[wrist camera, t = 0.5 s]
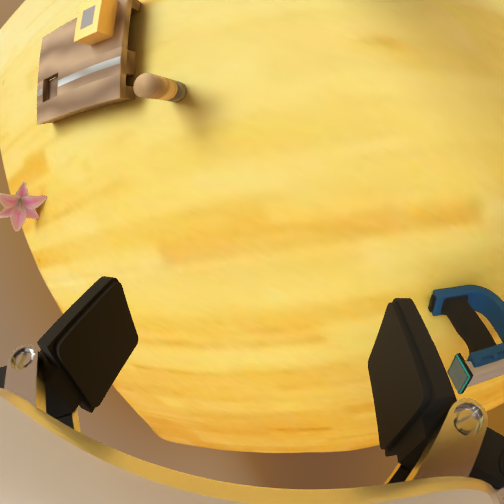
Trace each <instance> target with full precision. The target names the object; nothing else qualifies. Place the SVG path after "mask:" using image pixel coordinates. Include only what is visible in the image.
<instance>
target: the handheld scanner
mask: <svg viewBox="0 0 504 504" xmlns="http://www.w3.org/2000/svg"><path fill="white" fill-rule="evenodd" d="M428 308H429V311H430V312H431V313H432V314H433V316H437V315H447V316H448V318H449V319H450V321H451V323H452V324H453V326H454V328H455V329H456V331H457V332H458V334H459V335H460V336H461V337H462V338H463V340H464V341H465V342H466V344H467V346H468V349H469V354H470V355H469V357H468V359H467V361H465V360H464V359H463V357H462V356H461V354H460V353H458V354H456V355H455V357H454V359H453V362H452V364H451V366H450V368H449V370H448V374H449V376H450V378H451V380H452V382H453V384H454V386H455V388H456V390H457V392H458V394H462V393H463V392H464V391H465V389H466V388H467V387H469V386H472V385H475V384H478V383H481V382H484V381H487V380H490V379H492V378H495V377H498V376H500V375H503V374H504V302H503V301H502V300H501V299H500V298H499V297H498V296H497V295H496V294H495V293H493V292H492V291H490V290H488V289H486V288H483V287H480V286H475V285H465V286H459V287H452V288H445V289H438V290H434V291H433V295H432V296H431V298H430V303H429V307H428ZM475 311H478V312H480V313H482V314H483V315H484V316H485V317H486V318H487V319H488V320H489V321H490V323H491V324H492V326H493V327H494V329H495V330H496V332H497V333H498V335H499V337H500V338H501V340H502V342H503V343H501V344H498V345H496V343H495V342H494V340H493V338H492V336H491V334H490V333H489V331H488V330H487V328H486V326H485V325H484V323H483V322H482V321H481V319H480V318H479V316H478V315H477V314H476V312H475Z"/></svg>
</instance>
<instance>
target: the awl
mask: <svg viewBox="0 0 504 504" xmlns="http://www.w3.org/2000/svg"><path fill="white" fill-rule="evenodd" d="M133 89H134V93H135V94H136V95H137V96H138V97H142V98H151V99H159V100H166V101H173V102H177V101H180V100H182V99H183V98H184V97H185V95H186V87H185V85H184V84H183V83H181V82H178V81H174V80H171V79H168V78H165V77H161V76H158V75H154V74H151V73H143V74H141V75H140V76H138V77H137V79H136V80H135V82H134V86H133Z"/></svg>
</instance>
